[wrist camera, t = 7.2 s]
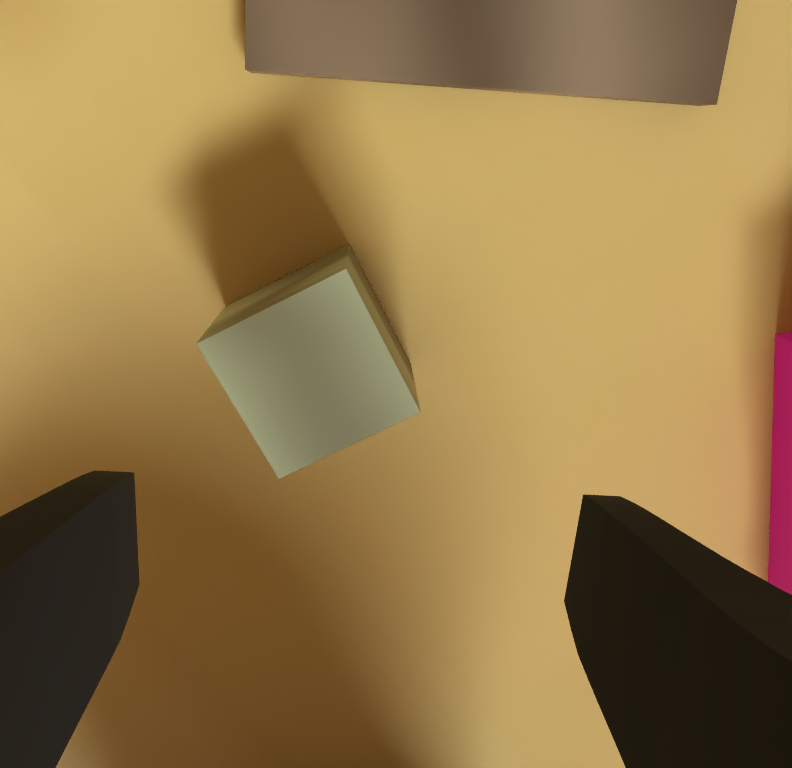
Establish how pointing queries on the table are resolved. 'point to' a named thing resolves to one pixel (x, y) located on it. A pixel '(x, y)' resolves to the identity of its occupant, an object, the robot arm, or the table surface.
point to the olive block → (311, 362)
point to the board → (501, 45)
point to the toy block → (781, 468)
